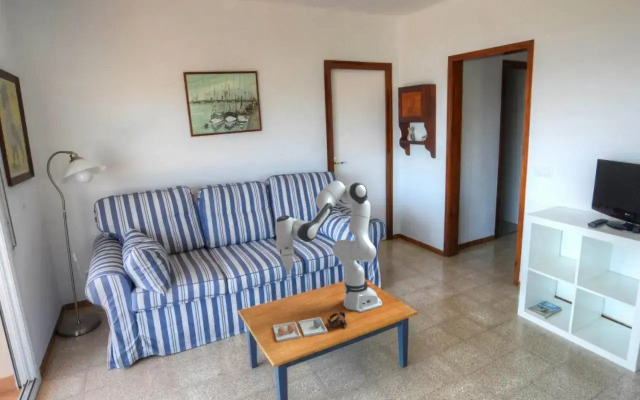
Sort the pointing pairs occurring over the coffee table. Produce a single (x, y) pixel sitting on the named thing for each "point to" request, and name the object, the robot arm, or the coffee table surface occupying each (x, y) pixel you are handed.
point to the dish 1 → (287, 334)
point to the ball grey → (317, 323)
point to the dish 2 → (312, 327)
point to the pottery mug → (337, 319)
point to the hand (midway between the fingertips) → (286, 271)
